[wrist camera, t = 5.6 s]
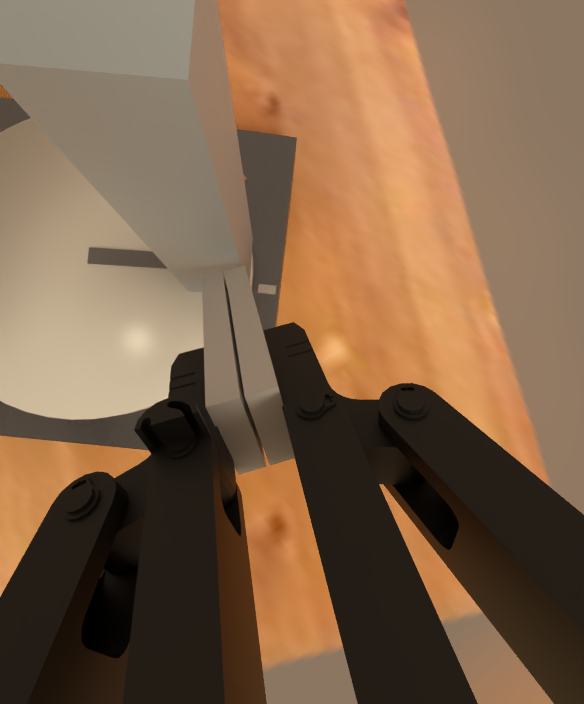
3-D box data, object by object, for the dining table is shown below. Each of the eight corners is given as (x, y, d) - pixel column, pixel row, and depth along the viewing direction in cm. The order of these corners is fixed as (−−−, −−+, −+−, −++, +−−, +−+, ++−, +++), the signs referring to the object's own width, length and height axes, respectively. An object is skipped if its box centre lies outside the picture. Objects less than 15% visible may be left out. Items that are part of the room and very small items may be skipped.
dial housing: (-50, 419, 21) (-108, 425, 17) (11, 132, 23) (-32, 91, 19) (262, 450, 21) (259, 461, 18) (293, 169, 23) (296, 135, 20)
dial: (-65, 409, 18) (-1348, 494, 4) (-21, 124, 19) (-790, -558, 5) (244, 422, 18) (148, 535, 4) (261, 146, 20) (230, -405, 6)
